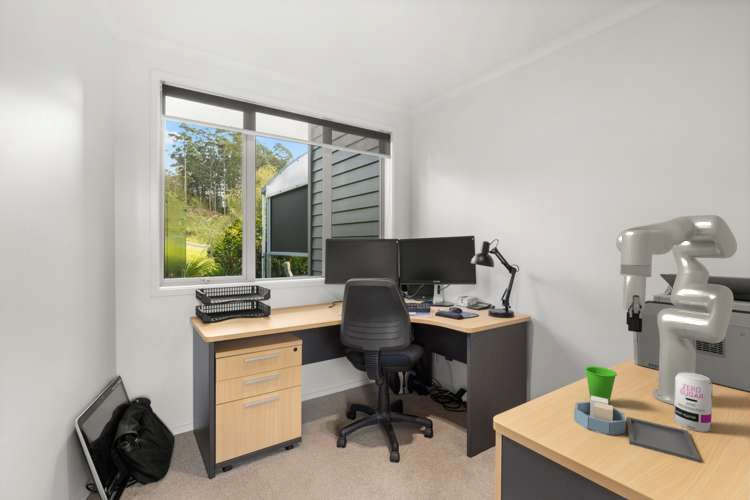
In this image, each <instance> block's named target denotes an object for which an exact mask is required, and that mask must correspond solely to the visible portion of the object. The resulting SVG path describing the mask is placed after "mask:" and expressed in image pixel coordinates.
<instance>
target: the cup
mask: <svg viewBox="0 0 750 500" xmlns="http://www.w3.org/2000/svg"><path fill="white" fill-rule="evenodd" d="M584 370H585V372H586V373H585V374H586V379H587V385H588V393H589V400H590V399H591V396H596V397H600V398H605V399H608V405H610V402H611V398H612V392H613V388H614V383H615V379H616V377H617V376H618V375H617V374H618V373H617V372H616V371H614V370H612V369H610V368H606V367H601V366H594V365H592V366H591V365H590V366H586V367H585V368H584Z"/></svg>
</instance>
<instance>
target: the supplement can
mask: <svg viewBox="0 0 750 500" xmlns="http://www.w3.org/2000/svg"><path fill="white" fill-rule="evenodd" d="M712 408H713V384H712V382H711V380H710V377H707V376H705V375H703V374H699V373H696V372H695V373H690V372H679V373H678V374H677V376H676V377H675V397H674V405H673V422H675V423H676V424H677V425H679V426H680V427H683V428H685V429H687V430H690V431H694V432H701V433H704V432H707V433H708V432H710V431H712V415H713V414H712V411H713V409H712Z"/></svg>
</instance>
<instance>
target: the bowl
mask: <svg viewBox="0 0 750 500" xmlns="http://www.w3.org/2000/svg"><path fill="white" fill-rule="evenodd" d="M573 411H574V412H573V413H574V416H573V417H574V421H575V423H577V424H578V425H579V426H581V427H583V428H585V429H587V430H589V431H592V432H594V433H597V434H602V435H606V436H607V435H609V436H618V435H622V434H623V433H626V416H625V413H624V412H622V411H621V410H618V409H617V408H614V407H613V421H605V420H601V419H597V418H593V417H590V401H589V400H588V401H578V402H575V404H574V410H573Z"/></svg>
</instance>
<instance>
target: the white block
mask: <svg viewBox="0 0 750 500" xmlns="http://www.w3.org/2000/svg"><path fill="white" fill-rule="evenodd" d="M589 400H590V417H593V418H594V405H595V402H598V403H602V404H607V405H608V399H605V398H600V397H596V396H591V399H590V398H589Z"/></svg>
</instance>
